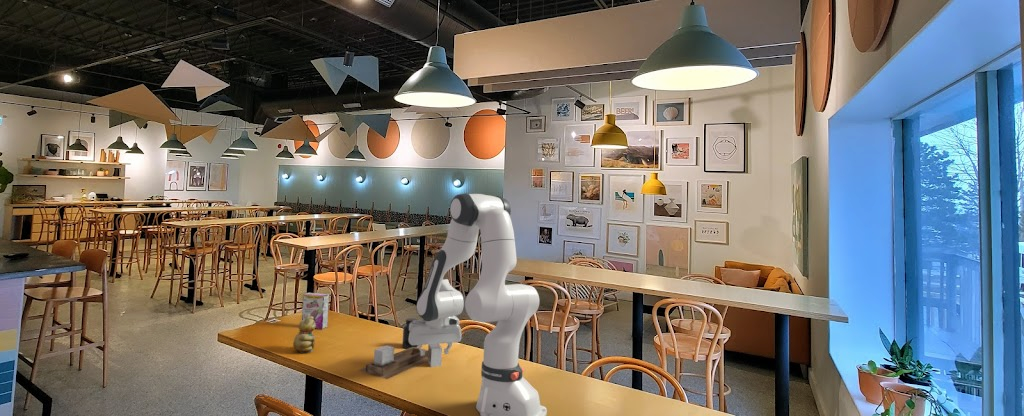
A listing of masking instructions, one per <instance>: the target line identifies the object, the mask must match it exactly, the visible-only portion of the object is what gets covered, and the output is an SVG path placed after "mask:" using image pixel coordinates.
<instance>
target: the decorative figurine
mask: <svg viewBox="0 0 1024 416" xmlns="http://www.w3.org/2000/svg"><path fill="white" fill-rule="evenodd" d="M313 319H314V317H313V316H310V314H308V315H306V317H305V318H304V320H302V319H301V321H300V322H299V323H298V329H299V332H298V333H297V334H296V335H295V337H294V340H293V343H292V344H293V348H294V349H295V351H298V352H301V353H312V352H313V349H314V348H315V342H316V341H315V340H316V337H315V336H314V333H313V331H314V330H315V328H316V323H315V322H314V320H313Z"/></svg>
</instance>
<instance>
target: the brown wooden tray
mask: <svg viewBox="0 0 1024 416" xmlns="http://www.w3.org/2000/svg"><path fill="white" fill-rule="evenodd" d="M421 349H422V350H424V351H425V356H420V350H419V348H418V347H411V348H408V349H407V348H405V349H403V350H401V351H398V352H396V353H394V363H393V364H390V365H388V366H385V367H383V368H381V367H377V366H374V361H373V362H369V363H368V364H365V367H364V368H361V369H359V370H358V371H359V372H361V373H364V374H369V375H373V376H376V377H379V378H383V379H386V380H388V379H391V378H393V377H395V376H397V375H399V374H402V373H404V372H406V371H408V370H411V369H413V368H415V367H418V366H419V365H421V364H424V363H426V362H427V363H428V349H426V348H425V349H424V348H421Z"/></svg>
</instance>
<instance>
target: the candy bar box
mask: <svg viewBox="0 0 1024 416" xmlns="http://www.w3.org/2000/svg"><path fill="white" fill-rule="evenodd" d="M329 299H330V294H327V293H326V294H325V293H316V292H305V293H303V294H302V306H301V307H302V310H301V311H302V314H301V321H302V320H304V318H305V317H306V315H308V314H310V316H313V317H314V319H313V320H314V322H315V323H316V328H319V329H318V330H324V329H326V328H328V322H329V321H328V320H329V303H330V301H329ZM325 327H326V328H325ZM323 328H324V329H323Z"/></svg>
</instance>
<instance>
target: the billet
mask: <svg viewBox="0 0 1024 416" xmlns="http://www.w3.org/2000/svg"><path fill="white" fill-rule="evenodd" d="M427 345H428V347H427V350H428V361H427V363H428V364H429V366H430V367H431V368H432V367H442V359H443V358H442V356H443V354H442V353H443V352H442V351H443V347H442V346H441V344H427Z"/></svg>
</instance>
